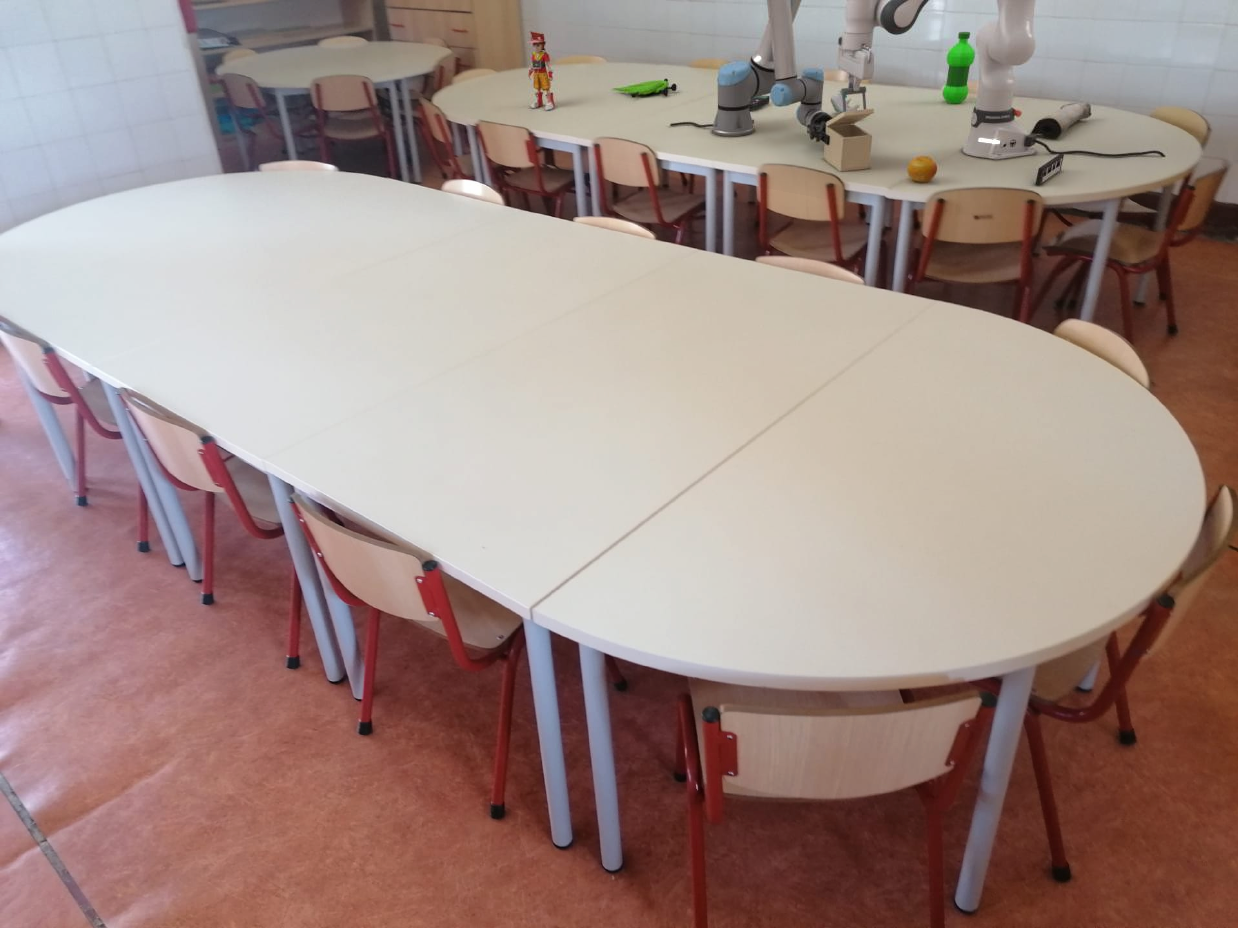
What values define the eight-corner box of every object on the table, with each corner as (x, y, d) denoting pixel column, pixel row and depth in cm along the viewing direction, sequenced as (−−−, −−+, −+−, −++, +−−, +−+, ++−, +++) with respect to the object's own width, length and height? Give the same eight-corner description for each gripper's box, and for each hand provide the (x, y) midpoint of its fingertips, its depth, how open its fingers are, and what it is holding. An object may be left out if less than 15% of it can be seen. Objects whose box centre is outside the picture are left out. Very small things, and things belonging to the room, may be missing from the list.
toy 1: (525, 109, 381) (517, 32, 364) (534, 104, 388) (527, 28, 371) (550, 110, 377) (543, 32, 360) (559, 105, 384) (553, 28, 367)
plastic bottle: (973, 101, 354) (984, 32, 339) (955, 106, 349) (966, 36, 335) (952, 97, 361) (962, 29, 346) (934, 102, 356) (944, 33, 342)
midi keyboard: (1039, 185, 269) (1043, 168, 266) (1035, 184, 270) (1038, 168, 267) (1060, 170, 279) (1064, 154, 277) (1056, 169, 280) (1060, 153, 277)
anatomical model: (825, 90, 346) (851, 83, 346) (828, 117, 352) (853, 110, 352) (836, 99, 334) (863, 92, 333) (839, 127, 340) (865, 120, 339)
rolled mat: (1058, 107, 328) (1083, 90, 320) (1071, 128, 329) (1097, 111, 320) (1025, 130, 311) (1051, 112, 303) (1040, 152, 311) (1065, 134, 303)
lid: (873, 113, 282) (871, 83, 281) (844, 116, 281) (842, 86, 280) (854, 123, 298) (852, 96, 296) (826, 126, 297) (824, 98, 295)
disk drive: (754, 111, 359) (769, 102, 369) (754, 104, 357) (770, 95, 367) (731, 109, 364) (746, 100, 374) (731, 102, 362) (747, 93, 372)
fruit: (901, 172, 275) (918, 148, 272) (903, 174, 283) (919, 151, 280) (924, 187, 274) (941, 164, 271) (925, 189, 282) (942, 166, 279)
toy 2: (686, 85, 398) (631, 84, 414) (685, 72, 395) (629, 72, 411) (651, 104, 381) (596, 103, 397) (650, 92, 378) (594, 91, 394)
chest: (869, 168, 292) (872, 135, 286) (840, 171, 291) (843, 138, 285) (851, 155, 304) (854, 124, 298) (823, 158, 303) (825, 126, 297)
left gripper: (849, 130, 318) (874, 147, 300) (788, 137, 315) (810, 154, 297) (851, 108, 314) (877, 124, 295) (789, 114, 311) (812, 130, 293)
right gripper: (881, 46, 268) (876, 95, 275) (854, 35, 284) (850, 82, 292) (861, 48, 267) (856, 97, 275) (835, 37, 284) (832, 84, 291)
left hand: (843, 139), depth 296 cm, fingers closed on chest, 10 cm apart
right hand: (853, 89), depth 284 cm, fingers closed
